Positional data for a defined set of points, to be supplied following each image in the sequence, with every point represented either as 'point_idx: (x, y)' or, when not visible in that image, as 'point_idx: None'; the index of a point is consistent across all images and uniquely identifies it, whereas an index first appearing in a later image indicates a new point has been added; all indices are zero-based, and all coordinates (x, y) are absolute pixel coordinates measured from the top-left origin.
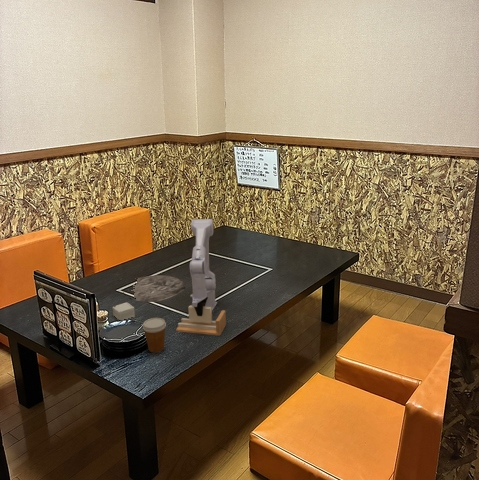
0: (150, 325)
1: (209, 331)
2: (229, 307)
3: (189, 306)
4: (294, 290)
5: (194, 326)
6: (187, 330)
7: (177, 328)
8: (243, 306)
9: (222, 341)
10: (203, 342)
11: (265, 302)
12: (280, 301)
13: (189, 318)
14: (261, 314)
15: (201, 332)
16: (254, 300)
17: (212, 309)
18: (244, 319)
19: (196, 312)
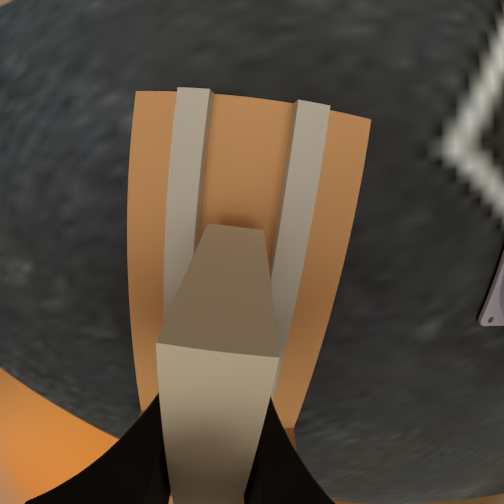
0: None
1: (151, 377)
2: (482, 391)
3: (203, 361)
4: (487, 488)
5: (166, 276)
6: (127, 208)
7: (152, 96)
8: (464, 435)
9: (97, 419)
10: (49, 338)
11: (459, 474)
12: (444, 495)
13: (200, 241)
14: (372, 495)
15: (132, 325)
16: (490, 444)
17: (489, 325)
18: (339, 473)
19: (149, 409)
